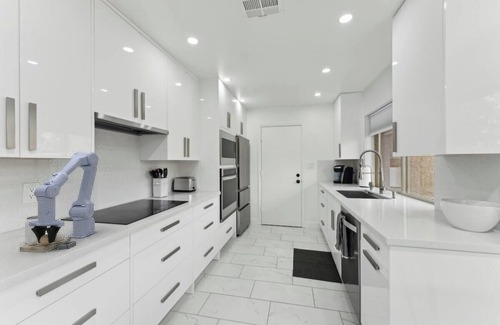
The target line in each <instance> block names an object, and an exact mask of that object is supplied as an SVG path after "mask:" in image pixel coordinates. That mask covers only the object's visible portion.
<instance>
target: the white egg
mask: <svg viewBox="0 0 500 325" xmlns="http://www.w3.org/2000/svg"><path fill="white" fill-rule="evenodd" d="M64 238H66V237H65V233H64V232H62V231H58V233H57V236H56V238H55V242H59V241H61V240H63V239H64Z"/></svg>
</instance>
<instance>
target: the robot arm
mask: <svg viewBox="0 0 500 325" xmlns="http://www.w3.org/2000/svg"><path fill="white" fill-rule="evenodd" d="M99 161H100V160H99V156H98V154H97V153H96V152H94V151H91V152H86V151H85V152H82V151H76V152H74V153H73V154H72V155H71V156H70V160H69V161H68V163H67V164H66V165H65V166H64V167H63V168H62V170H60V171H57V172H53V173H52V176H51V177H49V178H48V179H47V181H45V182H44V183H43V184H40V185H38V186H37V187H36V188H35V190H34V191H33V195H34V197H35V198H36V202H37V216H38V221H31V222H29V226H35V227H34V228H31V230H32V231H33V232H34V234H35V235H36V237H37V240H38V243H40V238H41V237H42V236H43V235H45V233H46V232H47V234H48V242H49V243H52V242H55V238H56V236H57V233H58V232H60V229H61V228H62V227H64V226H65V221H63V220H56V197H57V196H58V195H59V194H60V191H61V188H62V187H63V186H64V185H65V183H67V182H68V180H69V176H70V175H71V174H72V173H73V172H74V171H76V169H78V167H79V168H81V169H82V170H83V175H82V179H81V184H80V186H79V192H78V196H77V199H76V200H75V201H74V202H72V204H71V207H70V208H69V210H68V216H69V217H70V218H71V220H72V235H69V236H68V237H67V238H71V239H77V238H78V239H83V238H86V237H88V236H91V235H92V234H95V233H96V232H97V231H95V228H96V227H95V226H96V225H95V224H96V221H95V218H94V217H93V215H94V213H95V208H94V207H95V203H93V202H92V201H91V198H92V194H93V189H94V184H95V180H96V179H95V178H96V175H97V171H98V164H99V163H98V162H99Z"/></svg>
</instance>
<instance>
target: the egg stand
mask: <svg viewBox="0 0 500 325" xmlns="http://www.w3.org/2000/svg"><path fill="white" fill-rule="evenodd" d="M75 246H77V241H76V240H74V241H73V240H70V241H66V242H63V243H60V244H58V245H57V248H56V250H69V249H71V248H73V247H75Z"/></svg>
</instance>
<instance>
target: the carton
mask: <svg viewBox="0 0 500 325" xmlns="http://www.w3.org/2000/svg"><path fill="white" fill-rule="evenodd" d="M71 239H72V238H68V237H64V239H63V240H61V241H59V242H52V243H50V244H47V245H43V244H41V243H38V241H36V242H33V243H30V244H25V245H23V246H20V247H19V252H22V253H24V252H26V253H31V252H32V253H33V252H34V253H48V252H50V251H53V250H54V249H57V245H58V244H60V243H63V242H66V241H71Z"/></svg>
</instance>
